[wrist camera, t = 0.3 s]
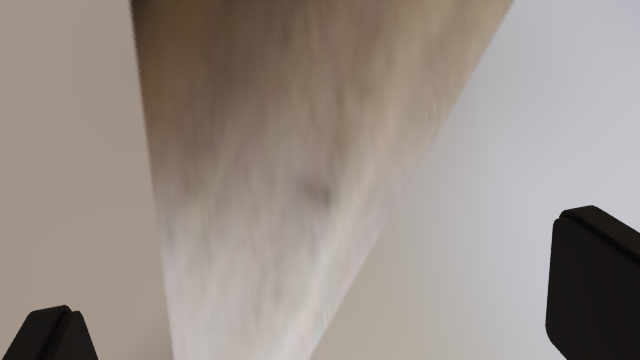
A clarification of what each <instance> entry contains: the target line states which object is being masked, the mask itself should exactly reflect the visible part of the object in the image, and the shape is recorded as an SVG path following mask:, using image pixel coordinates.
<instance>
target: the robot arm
mask: <svg viewBox="0 0 640 360" xmlns="http://www.w3.org/2000/svg"><path fill="white" fill-rule="evenodd" d="M545 324H546V325H545V327H546V332H547V335H548V337H549V339H550V341H551V342H552V344H553V345H554V346H555V347H556V348H557V349H558V350H559V351H560V353H561V354H562V355H563V356H564V357H565V358H566V359H567V360H640V233H639V232H637V231H636V230H634V229H632V228H631V227H629V226H628V225H626V224H624V223H623V222H621V221H619V220H618V219H616V218H614V217H613V216H611V215H609V214H608V213H606V212H604V211H603V210H601V209H599V208H598V207H595V206H593V205H591V206H584V207H578V208H573V209H568V210H564V211H563V212H562V213H561V214H560V216H559V218H558V219H556V220H555V221H554V224H553V231H552V244H551V258H550V271H549V284H548V296H547V309H546V323H545ZM2 360H98V357H97V355H96V352H95V349H94V346H93V343H92V340H91V338H90V335H89V332H88V329H87V326H86V324H85V321H84V318H83V316H82V314H81V313H80V311H73V312H72V311H71V309H70V308H69V307H68V306H66V305H62V306H57V307H52V308H46V309H41V310H36V311H32V312H30V314H29V315H28V316H27V318H26V320H25V321H24V323H23V325H22V327H21V328H20V330H19V331H18V333H17V335H16V337H15V338H14V340H13V342H12V343H11V345H10V347H9V349H8V350H7V352H6V354H5V355H4V357H3V359H2Z"/></svg>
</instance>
